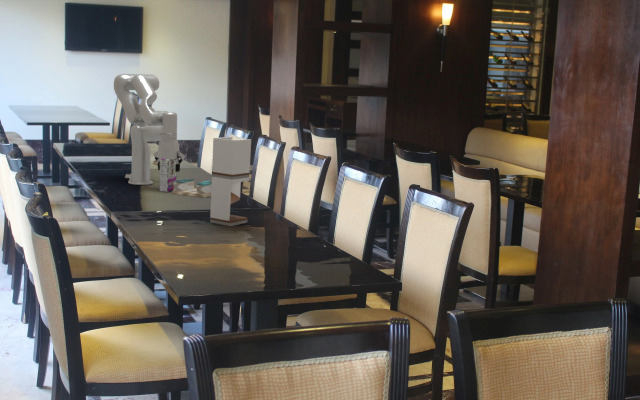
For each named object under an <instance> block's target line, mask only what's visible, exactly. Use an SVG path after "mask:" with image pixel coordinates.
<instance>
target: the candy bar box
mask: <svg viewBox="0 0 640 400" xmlns="http://www.w3.org/2000/svg"><path fill="white" fill-rule="evenodd" d="M175 164H176V162H175V160H170V159H160V171H159V182H158V183H159V185H158V186H159V192H162V193H163V192H164V193H169V192H172V191H174V181H175V180H177V172H175Z"/></svg>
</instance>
